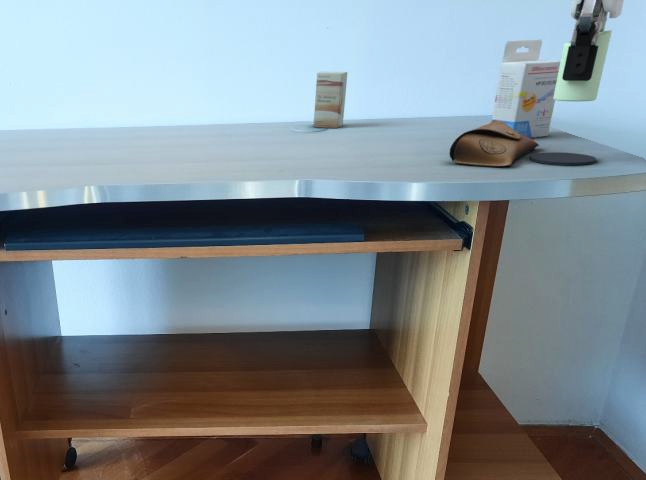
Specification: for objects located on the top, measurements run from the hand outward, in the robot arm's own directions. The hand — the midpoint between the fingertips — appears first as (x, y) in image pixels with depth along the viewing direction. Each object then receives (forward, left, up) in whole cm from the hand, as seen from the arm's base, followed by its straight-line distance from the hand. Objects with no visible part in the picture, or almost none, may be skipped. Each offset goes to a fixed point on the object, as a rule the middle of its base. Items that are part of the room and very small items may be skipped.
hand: (579, 77), depth 84 cm
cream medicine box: (+44, -22, -11) cm, 50 cm away
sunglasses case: (+9, 0, -11) cm, 14 cm away
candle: (0, 0, -3) cm, 3 cm away
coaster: (0, 0, -11) cm, 11 cm away
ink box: (+9, -20, -11) cm, 24 cm away
